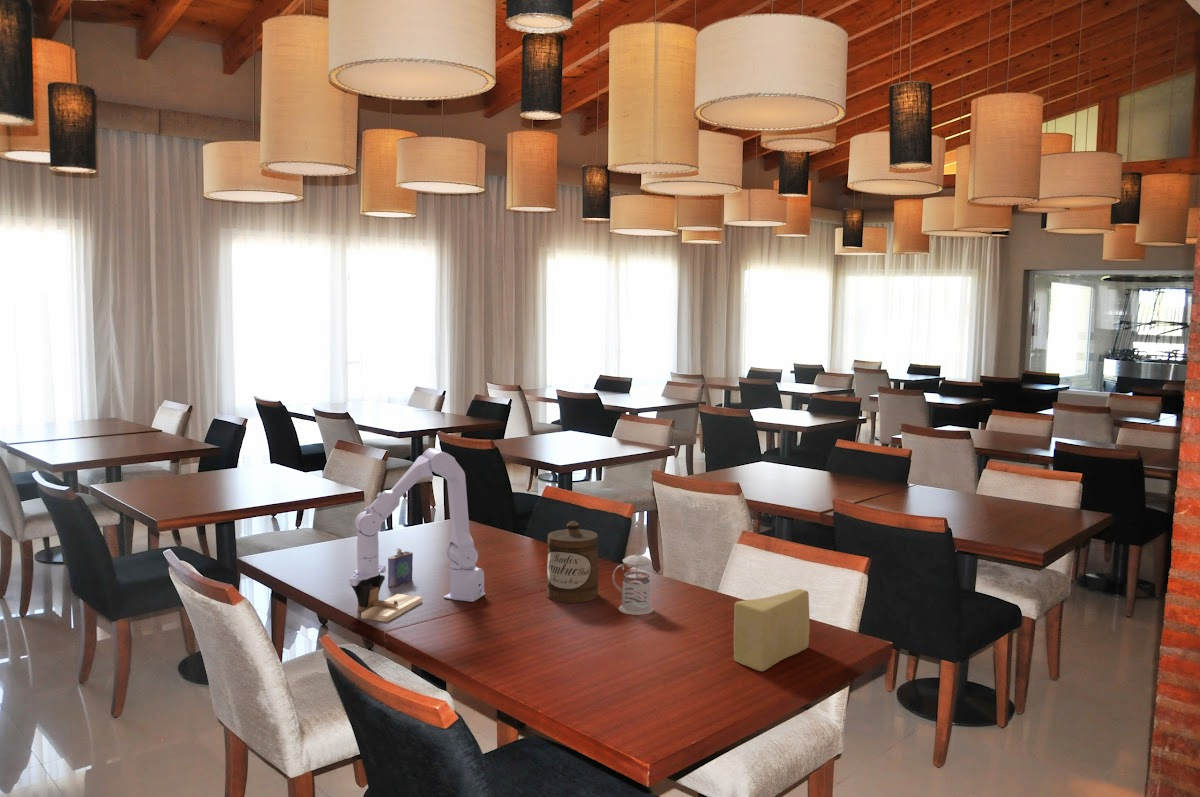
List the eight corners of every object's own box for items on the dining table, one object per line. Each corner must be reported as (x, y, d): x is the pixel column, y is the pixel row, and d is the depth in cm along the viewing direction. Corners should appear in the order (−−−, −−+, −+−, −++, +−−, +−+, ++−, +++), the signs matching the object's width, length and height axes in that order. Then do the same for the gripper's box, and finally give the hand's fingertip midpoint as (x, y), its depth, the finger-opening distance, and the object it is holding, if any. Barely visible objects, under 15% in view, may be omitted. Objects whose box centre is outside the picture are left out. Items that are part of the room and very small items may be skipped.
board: (422, 602, 262) (422, 596, 262) (387, 621, 245) (387, 616, 245) (397, 598, 264) (397, 593, 264) (361, 618, 247) (361, 612, 247)
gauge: (400, 611, 254) (400, 587, 253) (392, 615, 250) (392, 591, 249) (366, 606, 257) (365, 582, 257) (357, 610, 253) (357, 586, 253)
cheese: (791, 641, 235) (793, 583, 234) (822, 652, 228) (824, 593, 227) (731, 660, 222) (732, 599, 220) (762, 673, 214) (764, 610, 213)
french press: (650, 616, 253) (652, 526, 251) (609, 612, 255) (610, 523, 253) (655, 605, 263) (657, 518, 260) (615, 601, 265) (617, 515, 263)
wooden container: (539, 600, 265) (540, 524, 263) (557, 585, 280) (557, 514, 277) (588, 605, 261) (589, 529, 259) (604, 591, 275) (605, 518, 273)
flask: (391, 588, 274) (391, 552, 273) (385, 586, 276) (384, 551, 275) (414, 581, 282) (414, 546, 281) (407, 579, 283) (407, 545, 283)
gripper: (370, 548, 261) (370, 595, 263) (339, 560, 248) (340, 610, 249) (391, 550, 259) (392, 598, 260) (362, 563, 245) (362, 613, 247)
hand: (368, 604), depth 254 cm, fingers closed on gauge, 4 cm apart
